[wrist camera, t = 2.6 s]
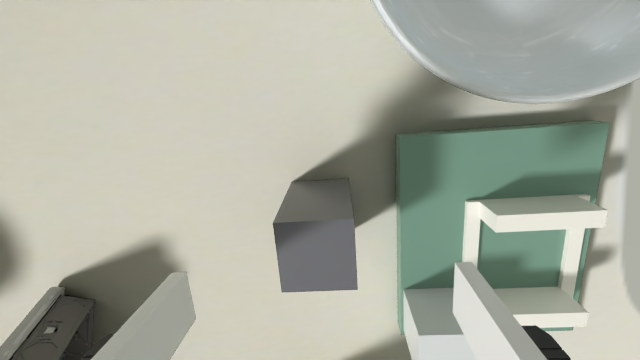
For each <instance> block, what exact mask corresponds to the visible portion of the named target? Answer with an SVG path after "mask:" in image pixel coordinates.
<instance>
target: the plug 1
mask: <svg viewBox="0 0 640 360" xmlns="http://www.w3.org/2000/svg"><path fill="white" fill-rule="evenodd" d="M273 227H274V235H275V243H276V251H277V259H278V266H279V274H280V282H281V290H282V292H306V291H333V290H358V288H357V268H356V248H355V228H354V215H353V208H352V201H351V194H350V186H349V179H348V178H346V179H330V180H313V181H296V182H292V183H291V185H290V187H289V189H288V191H287V194H286V196H285V198H284V200H283V202H282V204H281V207H280V209H279V211H278V213H277V215H276V217H275V220H274V222H273Z"/></svg>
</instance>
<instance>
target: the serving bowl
mask: <svg viewBox="0 0 640 360" xmlns="http://www.w3.org/2000/svg"><path fill="white" fill-rule="evenodd" d="M370 1H371V3H372V5H373V7H374V9H375V11H376V12H377V14H378V16H379V17H380V19H381V21H382V22H383V24H384V25H385V27H386V28H387V30H388V31H389V32H390V34H391V35H392V36H393V38H394V39H395V40H396V41H397V42H398V44H399V45H400V46H401V47H402V48H403V49H404V50H405V51H406V52H407V53H408V54H409V55H410V56H411V57H412V58H413V59H414V60H416V61H417V62H418V63H419V64H420V65H422V66H423V67H424V68H426V69H427V70H429V71H430V72H431V73H433V74H434V75H436V76H438V77H439V78H441V79H443V80H444V81H446V82H448V83H450V84H452V85H454V86H456V87H458V88H460V89H463V90H465V91H467V92H470V93H473V94H476V95H479V96H481V97H485V98H489V99H494V100H499V101H505V102H512V103H525V104H546V103H558V102H566V101H572V100H578V99H583V98H587V97H591V96H594V95H598V94H601V93H605V92H608V91H610V90H613V89H616V88H619V87H622V86H624V85H626V84H628V83H631V82H633V81H635V80H638V79H640V0H370Z"/></svg>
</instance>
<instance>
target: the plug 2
mask: <svg viewBox="0 0 640 360" xmlns="http://www.w3.org/2000/svg"><path fill="white" fill-rule="evenodd" d="M453 293H454V288H429V289H403V311H404V333H405V337H406V340H407V344H408V348H409V351H410V355H411V358H412V360H477V359H476V357H475V355H474V353H473V351H472V349H471V347H470V345H469V343H468V341H467V339H466V337H465V335H464V333H463V332H462V330H461V328H460V326H459V324H458V322H457V320H456V318H455V316H454V314H453Z"/></svg>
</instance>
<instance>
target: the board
mask: <svg viewBox="0 0 640 360" xmlns="http://www.w3.org/2000/svg"><path fill="white" fill-rule="evenodd" d="M609 124H610V123H607V122H600V121H579V122H564V123H550V124H535V125H521V126H506V127H492V128H477V129H463V130H448V131H434V132H419V133H405V134H396V174H397V279H398V324H399V328H400V332H401V335H405V333H404V311H403V289H429V288H454V269H455V262H472V263H473V264H474V266H475V267H476V268H477V270H478V271H479V272H480V273H481V275H482V276H483V277H484V279H485V280H486V281H487V282H488V284H489V285H490V286H491V288H492V289H493V290H494V291H495V293H496V294H497V295H498V297H499V298H500V299H501V301H502V302H503V303H504V304H505V306H506V307H507V308H508V310H509V311H510V312H511V313H512V315H513V316H514V317H515V319H516V320H517V321H518V322H519V324H520V325H521V326H534V325H536V326H538V327H539V328H540V329H542V330H543V331H565V330H573V327H586V324H587V319H588V314H589V312H588V311H587V310H585V309H584V308H583V307H582V306H581V305H580V304H579V303H578V299H579V294H580V288H581V282H582V277H583V271H584V265H585V260H586V254H587V248H588V243H589V237H590V231H591V228H605V224H606V219H607V214H608V210H607V209H605V208H602V207H600V206H598V205H596V204H595V203H596V197H597V192H598V186H599V181H600V175H601V169H602V164H603V158H604V152H605V147H606V141H607V135H608V130H609Z"/></svg>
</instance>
